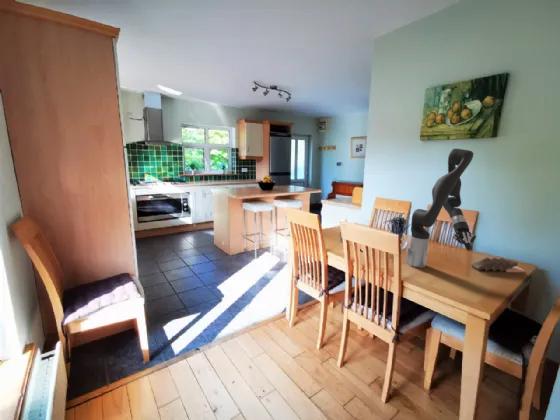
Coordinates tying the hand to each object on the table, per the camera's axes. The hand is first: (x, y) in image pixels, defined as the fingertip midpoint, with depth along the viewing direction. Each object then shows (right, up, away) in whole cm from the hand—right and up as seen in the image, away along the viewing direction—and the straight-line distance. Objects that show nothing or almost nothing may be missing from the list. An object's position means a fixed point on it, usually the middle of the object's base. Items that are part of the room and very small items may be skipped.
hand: (469, 250), depth 153 cm
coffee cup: (-61, 0, +47) cm, 77 cm away
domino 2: (+7, -10, 0) cm, 13 cm away
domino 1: (+3, -10, 0) cm, 11 cm away
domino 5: (+20, -11, 0) cm, 23 cm away
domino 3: (+12, -11, 0) cm, 16 cm away
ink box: (-59, +3, +62) cm, 86 cm away
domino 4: (+16, -11, 0) cm, 19 cm away
